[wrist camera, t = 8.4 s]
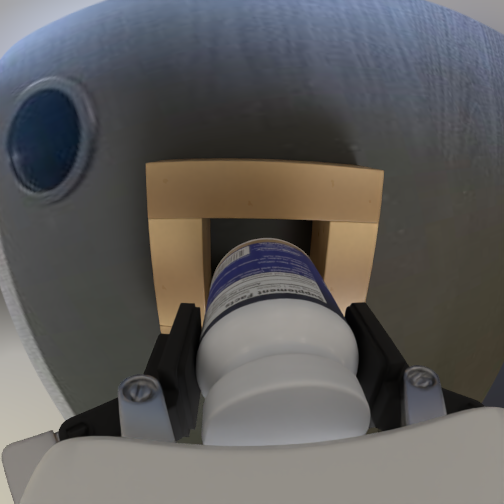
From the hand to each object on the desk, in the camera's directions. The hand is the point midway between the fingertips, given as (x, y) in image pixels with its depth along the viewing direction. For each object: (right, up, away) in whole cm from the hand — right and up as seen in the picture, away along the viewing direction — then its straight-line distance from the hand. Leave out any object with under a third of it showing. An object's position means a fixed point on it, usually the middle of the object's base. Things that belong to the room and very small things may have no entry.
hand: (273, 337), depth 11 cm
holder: (0, +3, +9) cm, 10 cm away
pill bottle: (0, +2, +5) cm, 5 cm away
